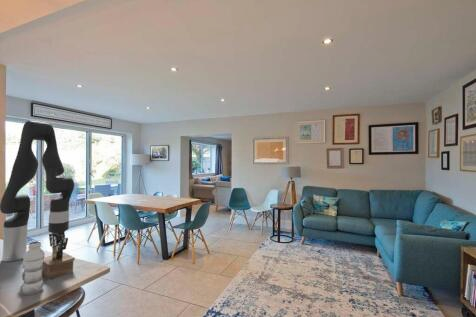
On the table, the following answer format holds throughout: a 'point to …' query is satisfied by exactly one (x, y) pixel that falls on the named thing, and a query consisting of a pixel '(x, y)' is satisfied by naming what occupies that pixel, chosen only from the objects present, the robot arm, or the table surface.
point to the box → (57, 270)
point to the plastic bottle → (33, 269)
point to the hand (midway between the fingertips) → (57, 257)
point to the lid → (53, 262)
